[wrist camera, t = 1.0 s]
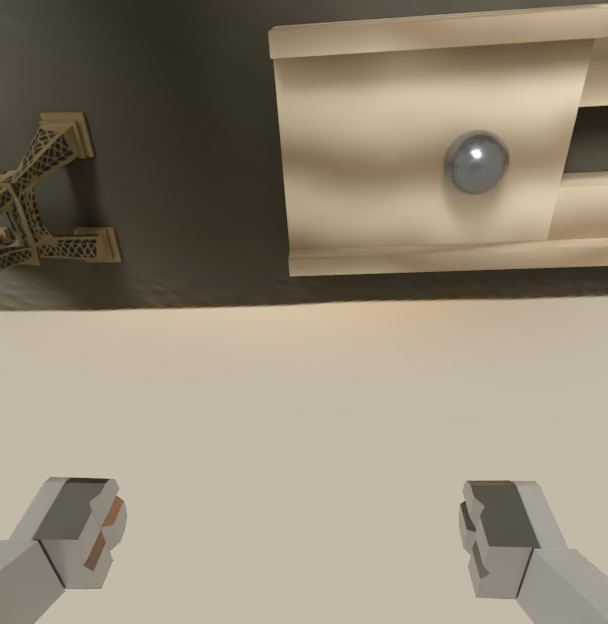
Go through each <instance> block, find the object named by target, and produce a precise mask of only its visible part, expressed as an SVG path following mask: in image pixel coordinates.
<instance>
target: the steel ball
mask: <svg viewBox="0 0 608 624" xmlns="http://www.w3.org/2000/svg"><path fill="white" fill-rule="evenodd" d="M509 164H510V155H509V150H508V147H507V145H506V143H505V142H504V141H503V140H502V138H501V137H499V136H498V135H497V134H495V133H493V132H491V131H487V130H473V131H469V132H466V133H464V134H462V135H461V136H459V137H458V138H456V139H455V140H454V141H453V142H452V143H451V145H450V146H449V148H448V150H447V152H446V154H445V157H444V162H443V169H444V174H445V177H446V179H447V181H448V183H449V184H450V185H451V186H452V187H453V188H454V189H455V190H457V191H458V192H460V193H462V194H466V195H481V194H484V193H487V192H489V191H491V190H493V189H494V188H495V187H497V186H498V185H499V184H500V183H501V182H502V180H503V179H504V178H505V176H506V174H507V172H508V169H509Z"/></svg>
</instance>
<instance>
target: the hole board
mask: <svg viewBox="0 0 608 624" xmlns="http://www.w3.org/2000/svg"><path fill="white" fill-rule="evenodd" d="M268 38H269V49H270V59H273V60H274V72H275V83H276V95H277V106H278V118H279V130H280V141H281V153H282V164H283V176H284V188H285V199H286V211H287V223H288V234H289V246H290V252H289V259H288V262H289V273H290V276H317V275H347V274H377V273H407V272H437V271H467V270H497V269H527V268H557V267H587V266H608V171H604V172H582V173H563V170H564V166H565V162H566V158H567V153H568V149H569V145H570V141H571V137H572V133H573V128H574V124H575V120H576V116H577V112H578V107H587V106H605V105H608V3H604V4H590V5H575V6H561V7H546V8H531V9H517V10H502V11H488V12H473V13H459V14H444V15H429V16H415V17H400V18H386V19H371V20H357V21H342V22H328V23H313V24H298V25H284V26H275V27H273V28H272V29H271V30H270V31H268ZM473 130H487V131H491V132H493V133H495V134H497V135H498V136H499V137H501V138H502V140H503V141H504V142H505V143H506V145H507V147H508V150H509V155H510V164H509V169H508V172H507V174H506V176H505V178H504V179H503V180H502V182H501V183H500V184H499V185H498V186H497V187H495V188H494V189H493V190H491V191H489V192H487V193H484V194H481V195H466V194H462V193H460V192H458V191H457V190H455V189H454V188H453V187H452V186H451V185H450V184H449V183H448V181H447V179H446V177H445V174H444V169H443V162H444V157H445V154H446V152H447V150H448V148H449V146H450V145H451V143H452V142H453V141H454V140H455V139H456V138H458V137H459V136H461V135H462V134H464V133H466V132H469V131H473Z"/></svg>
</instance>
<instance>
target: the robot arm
mask: <svg viewBox="0 0 608 624" xmlns="http://www.w3.org/2000/svg"><path fill="white" fill-rule="evenodd" d="M118 490H119V487H118V485H117V483H116V480H115V479H98V478H96V479H95V478H67V477H65V478H63V477H50V478H49V479H48V480H46V481H45V482H44V483H43V485H42V486H41V488H40V489H39V491H38V493H37V494H36V496H35V497H34V499H33V501H32V503H31V504H30V506H29V507H28V509H27V510H26V512H25V514H24V515H23V517H22V519H21V520H20V522H19V523H18V525H17V526H16V528H15V530H14V531H13V533H12V534H11V536H10V538H9V540H1V541H0V624H34V623H35V622H36V621H37V620H38V619H39V618H40V617H41V616H42V615H43V614H44V613H45V612H46V610H47V609H48V608H49V607H50V606H51V605H52V604H53V603H54V602H55V601H56V600H57V599H58V598H59V597H60V596H61V595H62V594H63V593H64V592H65V590H64V589H101V588H102V586H103V583H104V581H105V578H106V576H107V573H108V571H109V568H110V566H111V564H112V561H113V559H112V556H111V552H110V551H111V550H112V549H113V548H114V547H115V546H116V545H117V544H118V543H120V541H121V539H122V536H123V533H124V531H125V525H126V518H127V514H126V507H125V503H124V501H123V500H122V499H120V498H119V497H118V496H116V494H117V492H118ZM463 494H464V498H465V501H464V502H463V503H462V504H461V505H460V512H459V528H460V534H461V539H462V543H463V548H464V549H465V550H466V551H468V553H469V554H470V555H471V557H470V561H469V566H468V568H469V571H470V575H471V579H472V583H473V587H474V591H475V595H476V597H479V598H499V599H517V603H518V604H519V605H520V606H521V607H522V609H523V610H524V611H525V612H526V614H527V615H528V616H529V617H530V619H531V620H532V621H533V622H534V623H535V624H608V577H607V576H606V575H605V574H604V573H602V572H601V571H600V570H599V569H598V568H597V567H595V566H594V565H593V564H592V563H591V562H590V561H588V560H587V559H586V558H585V557H584V556H583V555H581V554H580V553H579V552H578V551H577V550H575V549H568V547H567V545H566V543H565V541H564V538H563V536H562V534H561V532H560V529H559V527H558V525H557V523H556V521H555V518H554V516H553V514H552V512H551V510H550V507H549V505H548V503H547V501H546V499H545V496H544V494H543V492H542V490H541V488H540V485H539V484H538V483H537V482H536V481H466V482H465V484H464V489H463Z"/></svg>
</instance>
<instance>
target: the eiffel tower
mask: <svg viewBox="0 0 608 624" xmlns="http://www.w3.org/2000/svg"><path fill="white" fill-rule="evenodd" d="M39 114H40V117H41V120H42V121H40V122H39V123H40V127H39V129H38V131H37V133H36V135H35V137H34V139H33V140H32V142H31V144H30V146H29V148H28V150H27V152H26V154H25V156H24V158H23V159H22V161H21V163H20V165H19V167H18V169H17V170H13V171H6V172H0V213H1V212H2V211H3V210H4V209H5V210H6V212H7V215H8V217H9V220H10V222H11V224H12V227H13V230H14V233H15V236H16V238H17V239H13V238H12V236H11V233H10V231H9V228H8V227H0V271H3V270H5V269H7V268H9V267H12V266H14V265H35V266H40V261H41V258H65V259H75V260H85V262H122V257H121V253H120V250H119V246H118V242H117V238H116V234H115V230H114V227H76V228H75V229H74V230H73V232H74V235H58V234H50V233H49V232H48V231H47V229H46V228H45V226H44V225H43V223H42V221H41V219H40V217H39V213H38V209H37V202H36V183H38V182H39V181H41V180H43V179H44V178H46V177H47V176H49V175H50V174H52V173H54V172H55V171H57V170H58V169H60V168H62V167H63V166H65V165H66V164H68V163H69V162H71V161H73V160H74V159H85V158H87V157H94V156H95V153H94V150H93V146H92V142H91V138H90V134H89V130H88V127H87V123H86V119H85V115H84V112H43V113H39Z"/></svg>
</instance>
